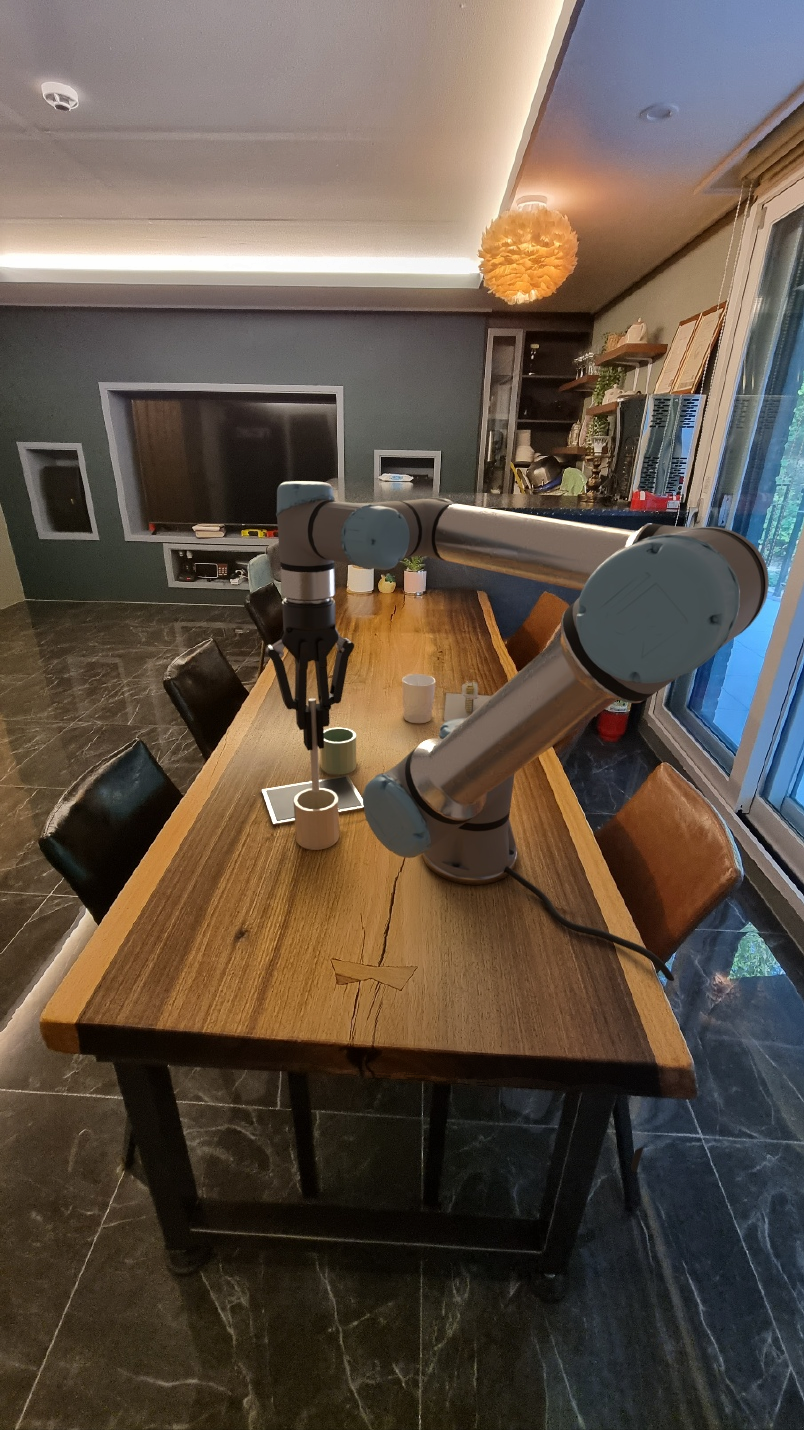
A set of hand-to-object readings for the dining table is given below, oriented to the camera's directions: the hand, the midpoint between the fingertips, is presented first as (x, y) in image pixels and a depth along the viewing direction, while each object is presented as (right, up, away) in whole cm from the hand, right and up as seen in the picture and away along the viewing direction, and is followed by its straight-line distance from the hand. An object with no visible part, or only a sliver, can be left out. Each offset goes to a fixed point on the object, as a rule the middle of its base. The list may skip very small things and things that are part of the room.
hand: (313, 745), depth 97 cm
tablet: (-3, -11, +17) cm, 21 cm away
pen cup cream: (0, -16, +7) cm, 17 cm away
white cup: (+18, +4, +53) cm, 56 cm away
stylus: (0, -8, +3) cm, 8 cm away
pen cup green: (+1, -6, +29) cm, 30 cm away
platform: (+31, +6, +60) cm, 68 cm away
